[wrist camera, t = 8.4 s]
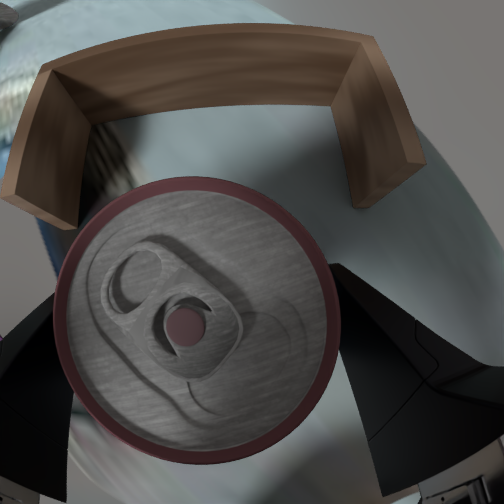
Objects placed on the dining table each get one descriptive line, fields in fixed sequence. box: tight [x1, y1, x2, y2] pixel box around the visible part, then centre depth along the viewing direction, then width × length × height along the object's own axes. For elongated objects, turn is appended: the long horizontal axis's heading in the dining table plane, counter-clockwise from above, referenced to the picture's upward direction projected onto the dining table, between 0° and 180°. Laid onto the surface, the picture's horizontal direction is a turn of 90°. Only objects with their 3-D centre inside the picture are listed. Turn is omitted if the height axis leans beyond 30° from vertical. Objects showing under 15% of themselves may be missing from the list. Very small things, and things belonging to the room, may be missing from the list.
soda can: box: [53, 176, 341, 465], centre depth 11 cm, size 7×7×12 cm
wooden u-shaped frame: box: [0, 23, 427, 230], centre depth 15 cm, size 9×21×7 cm, turn 94°
